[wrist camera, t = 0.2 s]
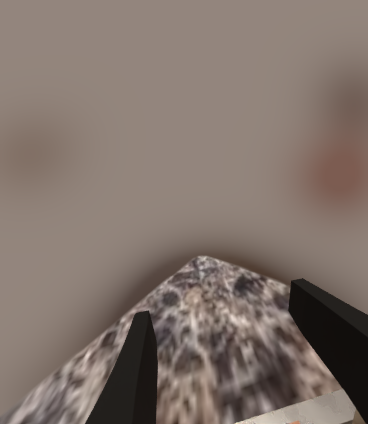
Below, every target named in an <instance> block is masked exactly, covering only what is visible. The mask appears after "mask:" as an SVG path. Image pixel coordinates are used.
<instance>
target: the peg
mask: <svg viewBox="0 0 368 424" xmlns="http://www.w3.org/2000/svg"><path fill="white" fill-rule="evenodd" d="M352 424H366V423H365V422H364V420H363V419H362V417H361V416H360V414H359V412H358V411H357V409H356V410H355V414H354V418H353V422H352Z"/></svg>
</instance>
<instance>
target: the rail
mask: <svg viewBox="0 0 368 424" xmlns="http://www.w3.org/2000/svg"><path fill="white" fill-rule="evenodd" d="M355 410H356V408H355V406H354V405H353V403H352V402H351V400H350V398H349V397H348V395H347V394H346V392H345V391H344V390H343V389H341V390H338V391H335V392H332V393H328V394H325V395H322V396H319V397H316V398H313V399H310V400H307V401H304V402H300V403H297V404H294V405H291V406H288V407H285V408H282V409H279V410H275V411H272V412H269V413H266V414H263V415H260V416H257V417H254V418H251V419H247V420H244V421H241V422H238V423H235V424H352V422H353V418H354V414H355Z"/></svg>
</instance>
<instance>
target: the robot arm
mask: <svg viewBox="0 0 368 424" xmlns="http://www.w3.org/2000/svg"><path fill="white" fill-rule="evenodd" d="M288 311H289V313H290V315H291V316H292V318H293V320H294V322H295V323H296V325H297V326H298V328H299V330H300V331H301V333H302V334H303V336H304V337H305V338H306V340H307V341H308V342H309V344H310V345H311V346H312V348H313V349H314V350H315V352H316V353H317V354H318V356H319V357H320V358H321V360H322V361H323V362H324V364H325V365H326V366H327V368H328V369H329V370H330V372H331V373H332V374H333V376H334V377H335V378H336V380H337V381H338V382H339V384H340V385H341V387H342V388H343V390H344V391H345V392H346V394H347V395H348V397H349V398H350V400H351V402H352V403H353V405H354V406H355V408H356V409H357V411H358V412H359V414H360V416H361V417H362V419H363V420H364V422H365V423H366V424H368V315H367V314H365V313H363V312H361V311H360V310H358V309H356V308H354V307H352V306H350V305H349V304H347V303H345V302H343V301H341V300H340V299H338V298H336V297H334V296H333V295H331V294H329V293H328V292H326V291H324V290H322V289H320V288H319V287H317V286H315V285H313V284H312V283H310V282H308V281H306V280H305V279H303V278H302V279H298V280H293V281H291V289H290V299H289V309H288ZM157 375H158V359H157V341H156V336H155V333H154V329H153V325H152V321H151V317H150V313H149V311H144V312H139V313H136V314H135V315H134V318H133V321H132V324H131V327H130V329H129V332H128V335H127V337H126V340H125V342H124V345H123V347H122V350H121V352H120V354H119V357H118V359H117V361H116V364H115V366H114V368H113V370H112V372H111V374H110V376H109V378H108V380H107V383H106V385H105V387H104V389H103V391H102V393H101V395H100V397H99V399H98V401H97V403H96V404H95V406H94V408H93V410H92V412H91V414H90V415H89V417H88V419H87V421H86V423H85V424H156V405H157Z"/></svg>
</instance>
